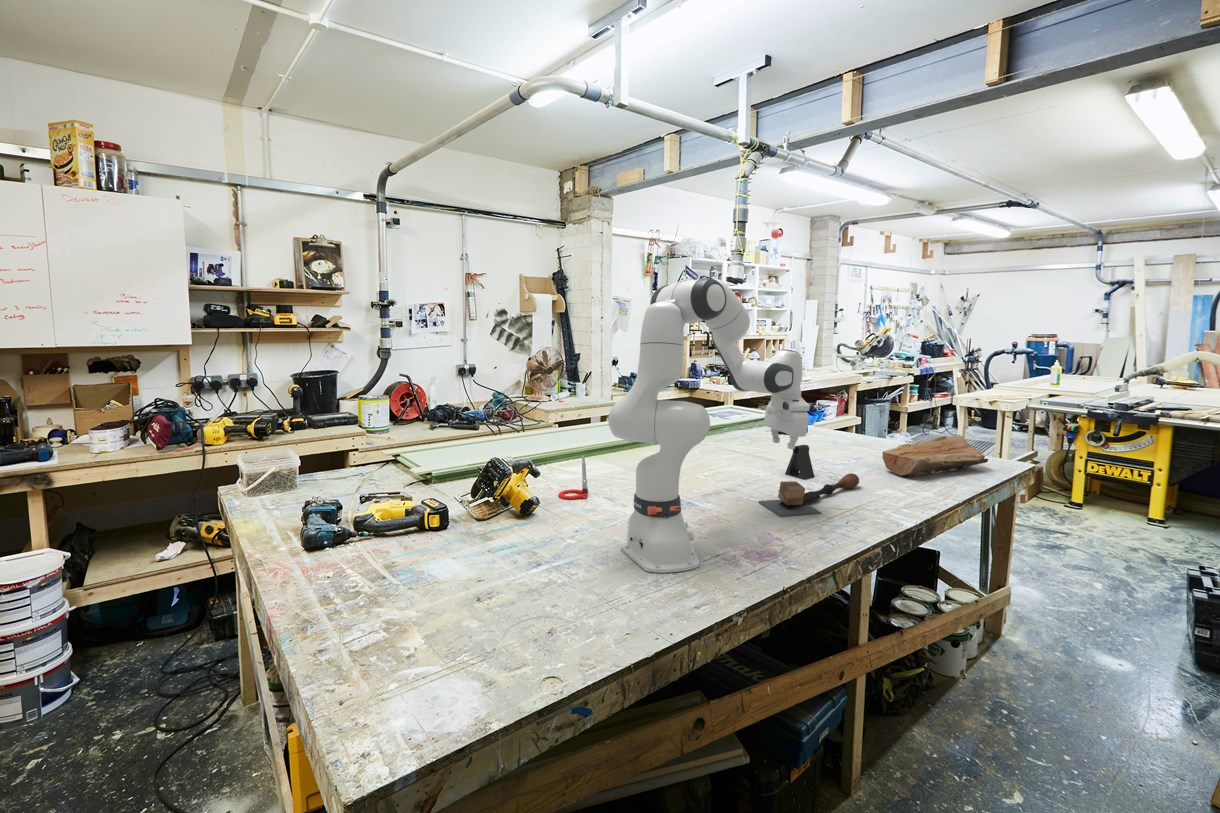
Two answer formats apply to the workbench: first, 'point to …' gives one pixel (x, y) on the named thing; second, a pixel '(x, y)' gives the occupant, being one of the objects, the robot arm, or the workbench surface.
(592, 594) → the workbench surface
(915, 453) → the log
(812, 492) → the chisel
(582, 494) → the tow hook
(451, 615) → the workbench surface
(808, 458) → the phone stand
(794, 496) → the walnut block
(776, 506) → the charcoal mat
